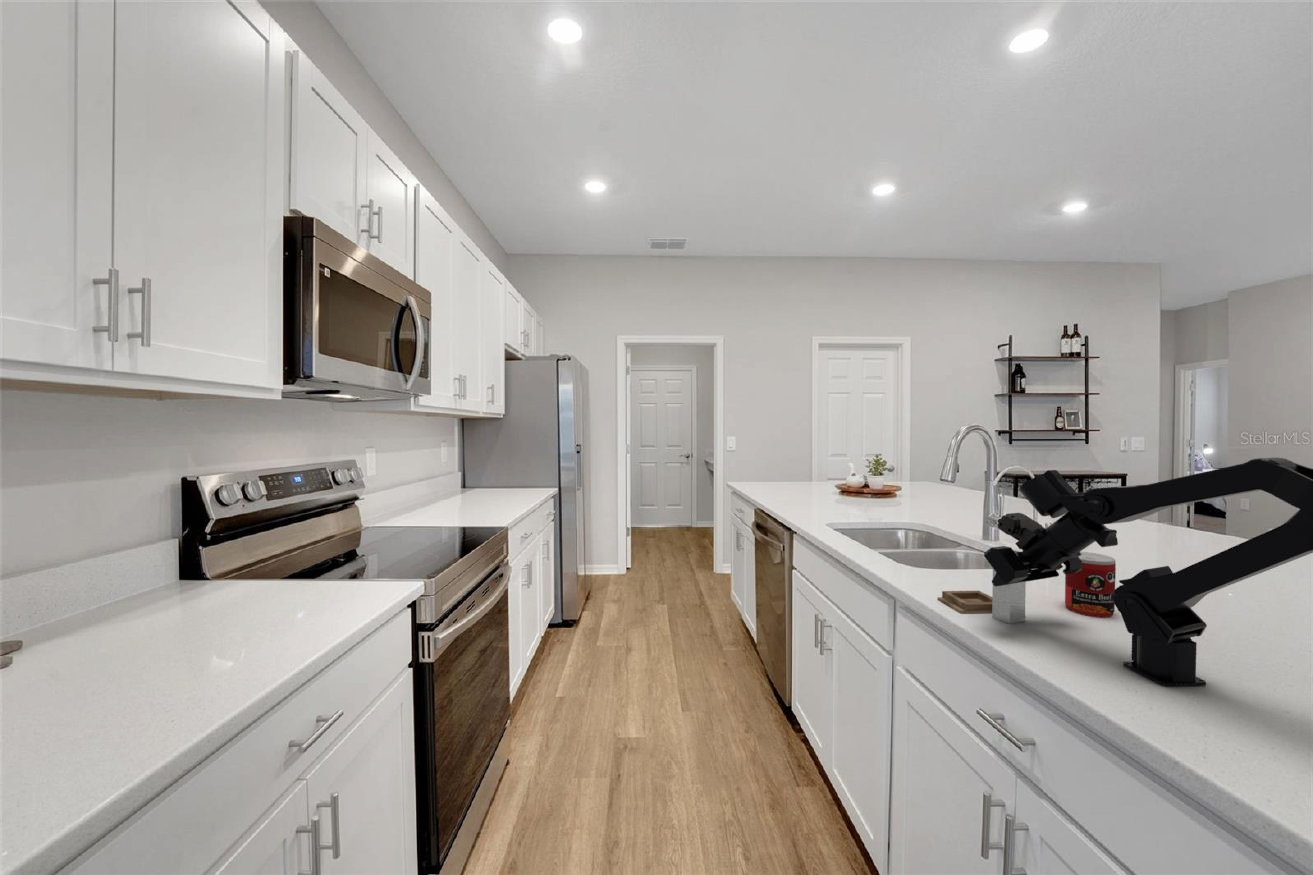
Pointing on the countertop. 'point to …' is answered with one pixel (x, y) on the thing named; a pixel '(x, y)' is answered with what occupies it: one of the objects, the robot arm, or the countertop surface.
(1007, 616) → the grey dark-topped prism
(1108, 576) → the canned food
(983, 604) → the brown square tray
